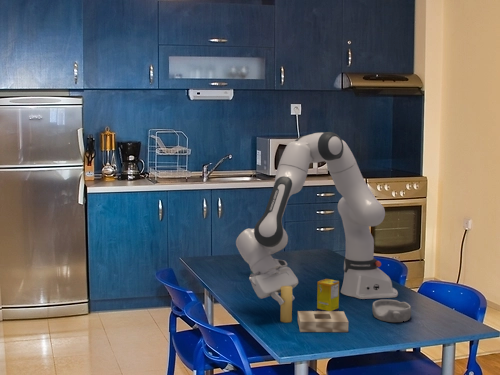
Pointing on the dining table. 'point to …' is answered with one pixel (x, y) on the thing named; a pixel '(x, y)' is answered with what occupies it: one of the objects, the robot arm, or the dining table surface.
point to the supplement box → (327, 295)
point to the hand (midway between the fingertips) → (287, 301)
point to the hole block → (322, 321)
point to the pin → (286, 304)
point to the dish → (391, 310)
